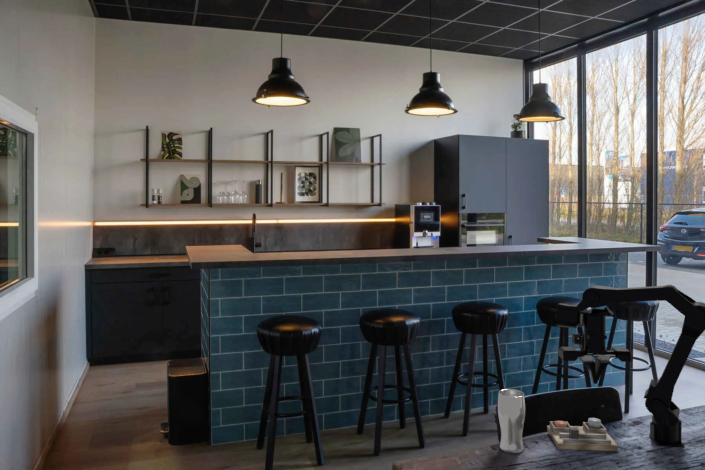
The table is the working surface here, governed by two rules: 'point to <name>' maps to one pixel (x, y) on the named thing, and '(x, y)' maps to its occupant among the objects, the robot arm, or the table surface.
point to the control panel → (582, 438)
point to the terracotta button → (560, 424)
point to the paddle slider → (573, 433)
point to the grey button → (594, 422)
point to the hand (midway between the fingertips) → (594, 383)
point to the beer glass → (511, 419)
